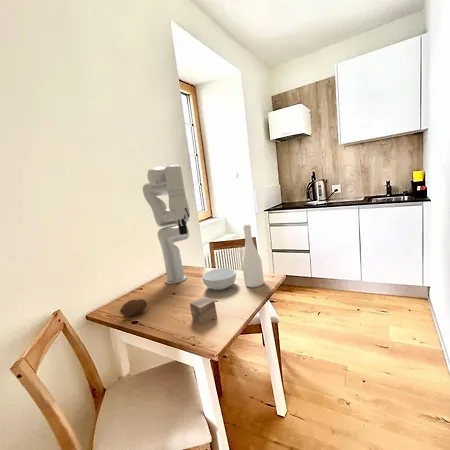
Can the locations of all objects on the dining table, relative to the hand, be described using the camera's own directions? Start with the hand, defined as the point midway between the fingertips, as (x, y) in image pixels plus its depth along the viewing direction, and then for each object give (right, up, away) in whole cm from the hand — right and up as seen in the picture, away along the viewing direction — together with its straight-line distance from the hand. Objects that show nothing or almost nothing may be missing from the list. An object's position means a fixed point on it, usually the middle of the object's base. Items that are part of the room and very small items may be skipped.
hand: (183, 233), depth 117 cm
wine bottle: (+34, -25, +10) cm, 43 cm away
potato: (-21, -36, -4) cm, 41 cm away
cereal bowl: (+17, -27, +13) cm, 35 cm away
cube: (+10, -26, -17) cm, 32 cm away
